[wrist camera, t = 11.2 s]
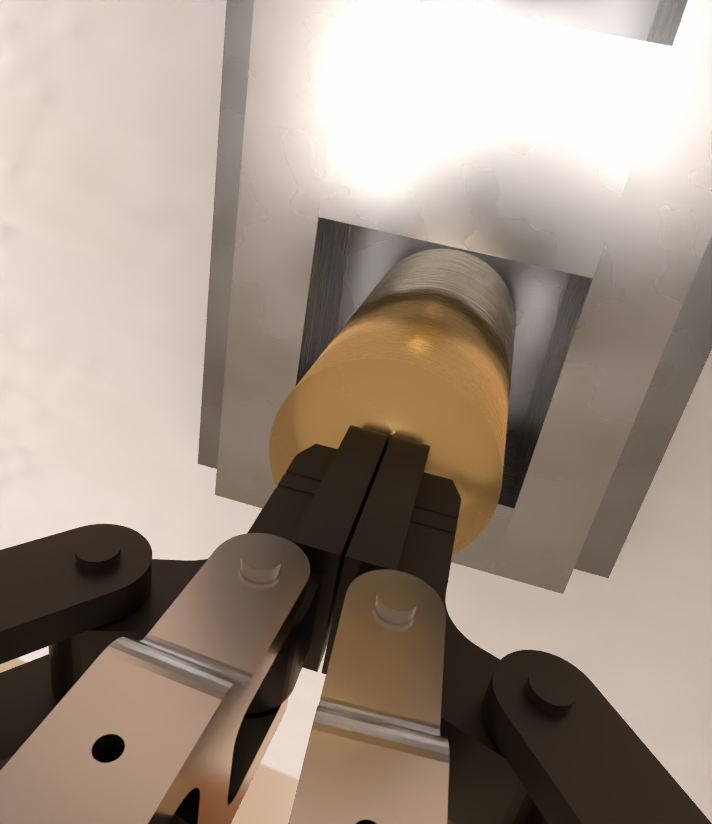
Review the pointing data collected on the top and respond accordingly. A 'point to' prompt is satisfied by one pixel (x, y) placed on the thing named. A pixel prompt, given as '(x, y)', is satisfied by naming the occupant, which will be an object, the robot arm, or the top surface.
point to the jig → (474, 231)
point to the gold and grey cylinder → (418, 377)
